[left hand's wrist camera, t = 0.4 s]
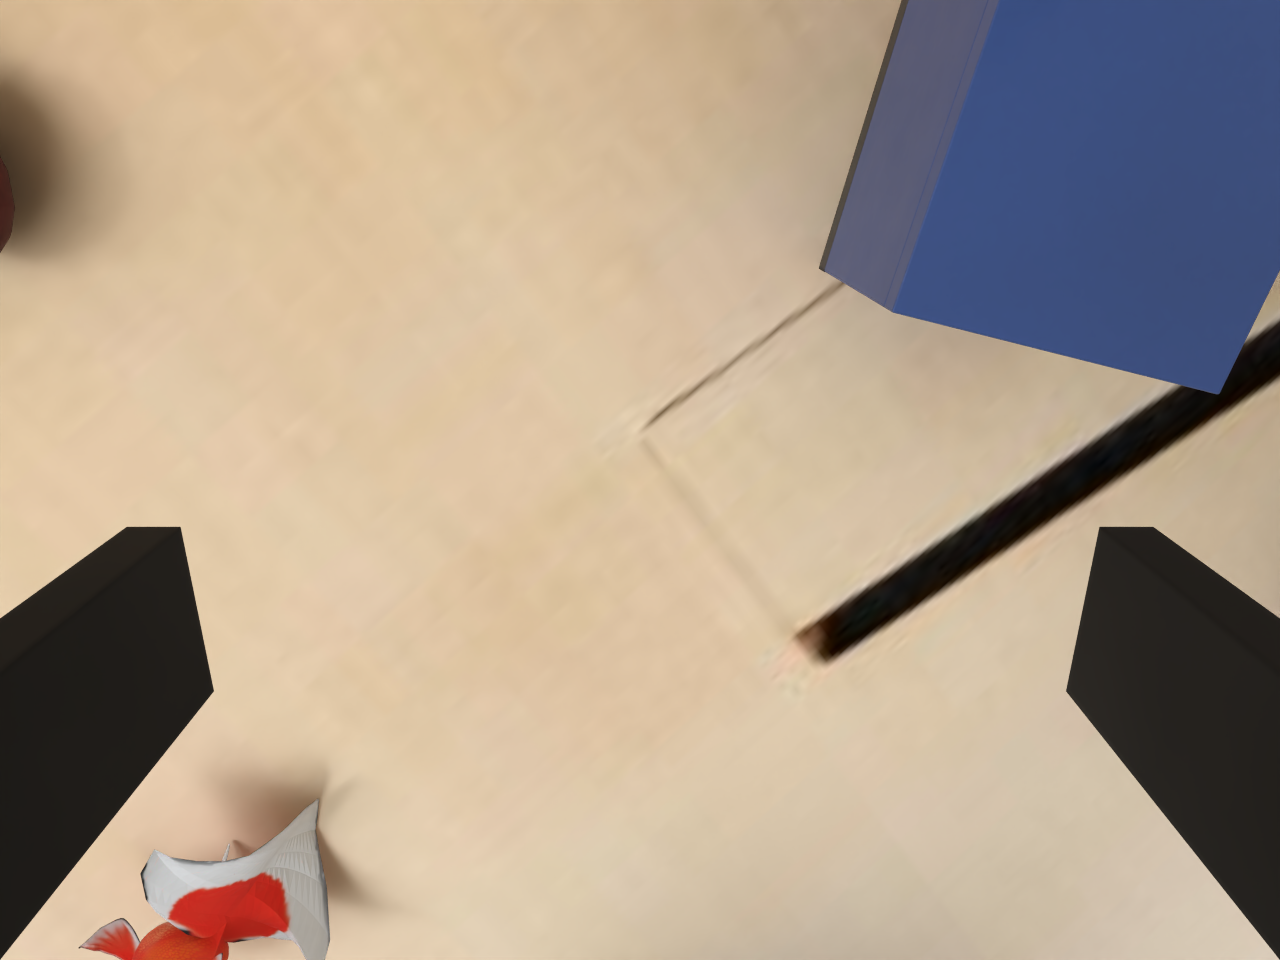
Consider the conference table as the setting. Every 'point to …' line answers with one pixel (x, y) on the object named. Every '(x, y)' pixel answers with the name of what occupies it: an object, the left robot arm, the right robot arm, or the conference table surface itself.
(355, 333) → the conference table surface
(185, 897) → the fish
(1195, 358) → the cabinet
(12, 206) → the dark maroon ball
